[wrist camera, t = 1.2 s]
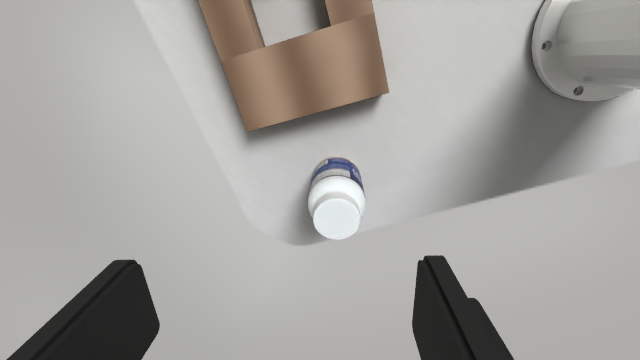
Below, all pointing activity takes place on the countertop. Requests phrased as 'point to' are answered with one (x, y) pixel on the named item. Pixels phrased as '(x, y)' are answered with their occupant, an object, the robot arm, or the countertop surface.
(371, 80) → the socket block
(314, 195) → the pill bottle
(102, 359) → the robot arm
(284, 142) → the countertop surface
